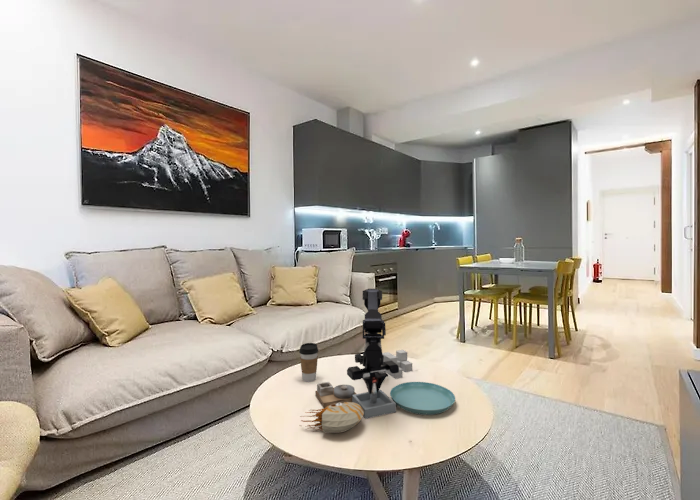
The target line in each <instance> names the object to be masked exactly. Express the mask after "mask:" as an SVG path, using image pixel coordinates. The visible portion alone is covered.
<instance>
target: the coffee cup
mask: <svg viewBox="0 0 700 500" xmlns="http://www.w3.org/2000/svg"><path fill="white" fill-rule="evenodd" d="M299 348H300V349H299V351H298V352H299V355H300V357H299V361H300V369H301V376H302V378H301V379H302V381H304V382H306V383H311V382H315V381H316V379H317V370H318V369H317V368H318V359H319V355H318V353H319V348H318V344H316V343H314V342H305V343H303V344H302V345H300V347H299Z"/></svg>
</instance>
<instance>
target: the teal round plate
mask: <svg viewBox="0 0 700 500" xmlns="http://www.w3.org/2000/svg"><path fill="white" fill-rule="evenodd" d="M389 395H390V396H389V397H390V398H391V399H392V400H393V401H394V402H395V403H396V406H398V407H399V408H400V409H401V410H404V411H406V412H409V413H410V414H415V415H422V416H432V415H433V416H434V415H439V414H441V413H444V412H446V411H447V410H448V411H449V409H450V408H451V407H452V406H453V405H454V404H455V402H456V396H455V394H454V392H452V391H451V390H450V389H448V388H446V387H445V386H442V385H440V384H436V383H434V382H433V383H431V382H426V381H425V382H424V381H409V382H403V383H399V384H397V385H395V386H393V387H392V388H391V390H390V392H389Z"/></svg>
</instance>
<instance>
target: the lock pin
mask: <svg viewBox="0 0 700 500" xmlns="http://www.w3.org/2000/svg"><path fill="white" fill-rule="evenodd" d="M371 378H372V391H371V394H370V403H372V404H375V403H377V381H378V379H377V378H376V377H371Z"/></svg>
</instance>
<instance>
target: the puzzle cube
mask: <svg viewBox="0 0 700 500" xmlns="http://www.w3.org/2000/svg"><path fill="white" fill-rule="evenodd" d="M382 354H383V356H384V362H385V361H393V362H395V363H396V364H397V365H398V366H399V373H393V374H392V373H391V372H390V370H386V373H387V374H388V376H389V377H392V378H393V379H395V380H396V379H402V378H403V372H404V373H409V372H413V363H412V362H411V361H409V360H408V351H406V350H405V349H399V350H396V351H395V355H394V354H393V353H391V352H389V351H387V352H382Z"/></svg>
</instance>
